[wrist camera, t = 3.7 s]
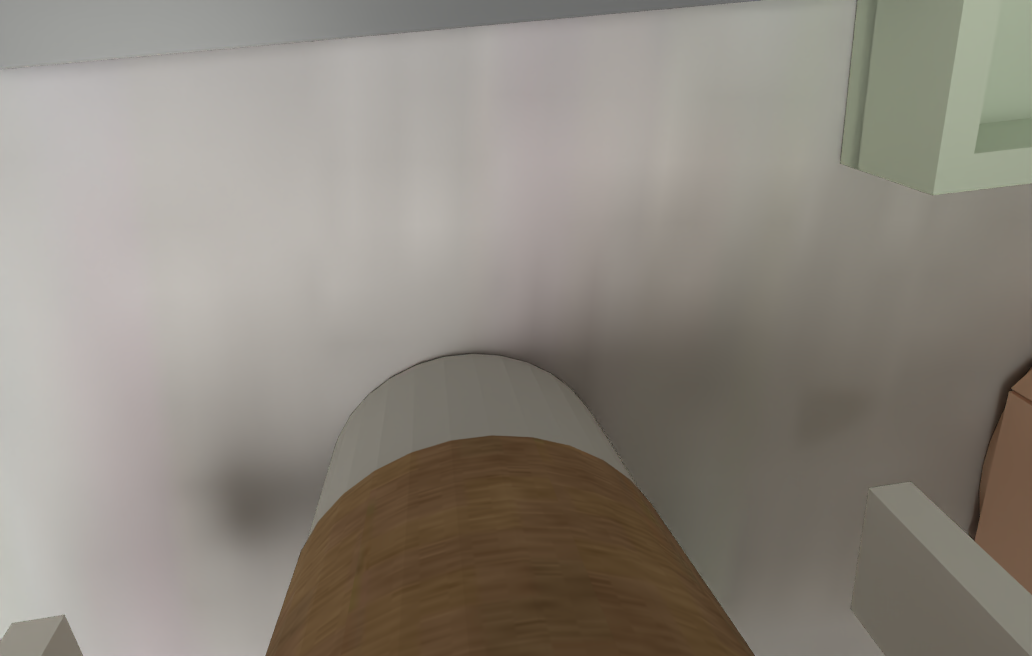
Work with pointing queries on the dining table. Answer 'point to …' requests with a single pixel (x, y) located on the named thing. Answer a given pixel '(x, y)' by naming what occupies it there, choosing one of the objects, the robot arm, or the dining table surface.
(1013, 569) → the bin
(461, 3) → the frame
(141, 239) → the dining table surface
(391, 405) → the coffee cup
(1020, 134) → the green square tray
